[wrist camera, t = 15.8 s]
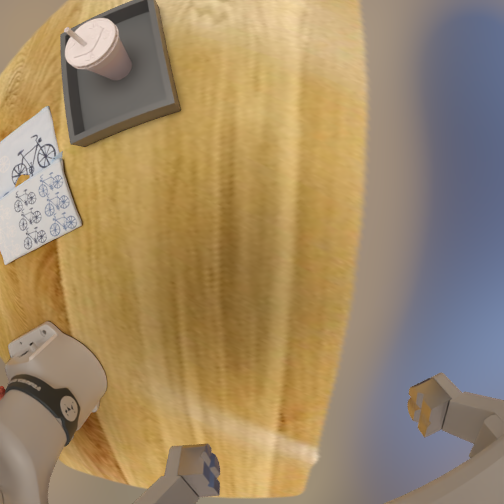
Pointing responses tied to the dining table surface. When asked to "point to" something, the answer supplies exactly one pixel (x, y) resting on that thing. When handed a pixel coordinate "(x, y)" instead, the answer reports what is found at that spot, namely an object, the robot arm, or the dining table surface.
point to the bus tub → (127, 89)
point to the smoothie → (98, 49)
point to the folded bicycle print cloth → (33, 189)
